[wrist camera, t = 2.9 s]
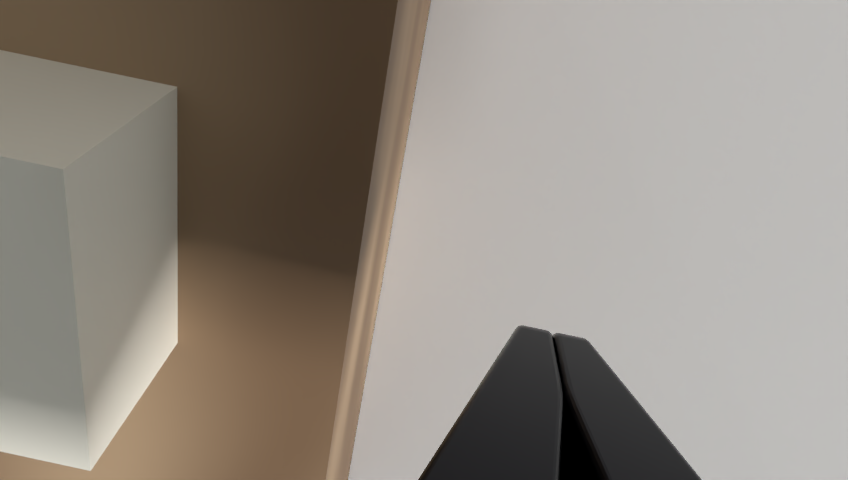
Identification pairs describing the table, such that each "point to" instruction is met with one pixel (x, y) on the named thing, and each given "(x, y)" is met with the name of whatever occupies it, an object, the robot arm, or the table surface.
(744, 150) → the table surface
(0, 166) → the cream tile
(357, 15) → the walnut plate
